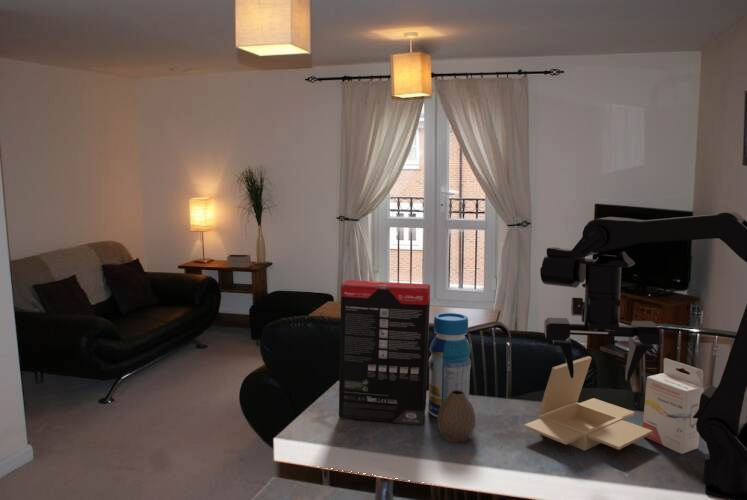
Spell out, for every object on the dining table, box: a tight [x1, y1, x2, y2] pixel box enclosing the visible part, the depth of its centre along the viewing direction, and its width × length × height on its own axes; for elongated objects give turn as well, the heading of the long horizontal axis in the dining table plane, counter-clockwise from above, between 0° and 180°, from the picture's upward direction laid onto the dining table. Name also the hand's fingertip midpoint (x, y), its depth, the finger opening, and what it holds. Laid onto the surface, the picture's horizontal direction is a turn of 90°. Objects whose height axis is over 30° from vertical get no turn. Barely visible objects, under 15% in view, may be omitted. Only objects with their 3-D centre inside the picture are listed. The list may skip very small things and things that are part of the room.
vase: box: [437, 390, 476, 443], centre depth 116 cm, size 7×7×9 cm
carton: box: [523, 397, 652, 452], centre depth 117 cm, size 16×22×3 cm
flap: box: [538, 355, 593, 416], centre depth 122 cm, size 1×12×10 cm, turn 129°
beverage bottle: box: [427, 312, 472, 419], centre depth 127 cm, size 8×8×20 cm
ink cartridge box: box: [642, 357, 705, 455], centre depth 115 cm, size 9×5×15 cm, turn 29°
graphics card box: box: [338, 279, 431, 426], centre depth 124 cm, size 17×7×27 cm, turn 82°
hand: (599, 378), depth 111 cm, fingers open, 9 cm apart
